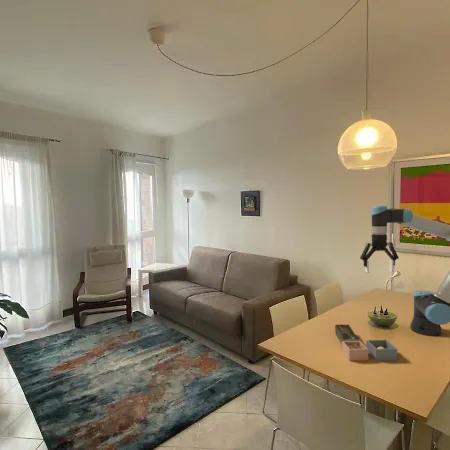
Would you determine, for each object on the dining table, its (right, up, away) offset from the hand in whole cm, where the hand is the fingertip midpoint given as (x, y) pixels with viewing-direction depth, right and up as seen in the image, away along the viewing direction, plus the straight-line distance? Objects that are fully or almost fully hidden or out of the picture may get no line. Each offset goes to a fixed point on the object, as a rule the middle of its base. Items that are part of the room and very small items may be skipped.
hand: (379, 272), depth 168 cm
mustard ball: (-9, -38, -20) cm, 43 cm away
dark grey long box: (-19, -38, -3) cm, 43 cm away
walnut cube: (-22, -38, -20) cm, 48 cm away
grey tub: (-9, -38, -20) cm, 44 cm away
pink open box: (-22, -39, -20) cm, 49 cm away
